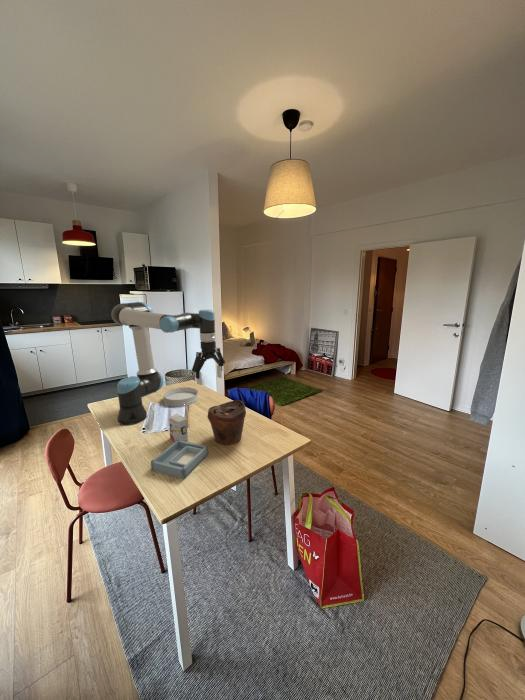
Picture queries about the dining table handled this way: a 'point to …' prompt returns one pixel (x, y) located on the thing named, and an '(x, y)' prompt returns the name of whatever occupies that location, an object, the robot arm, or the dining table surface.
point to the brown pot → (227, 421)
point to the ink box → (178, 428)
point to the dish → (180, 397)
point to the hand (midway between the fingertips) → (209, 380)
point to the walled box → (179, 459)
